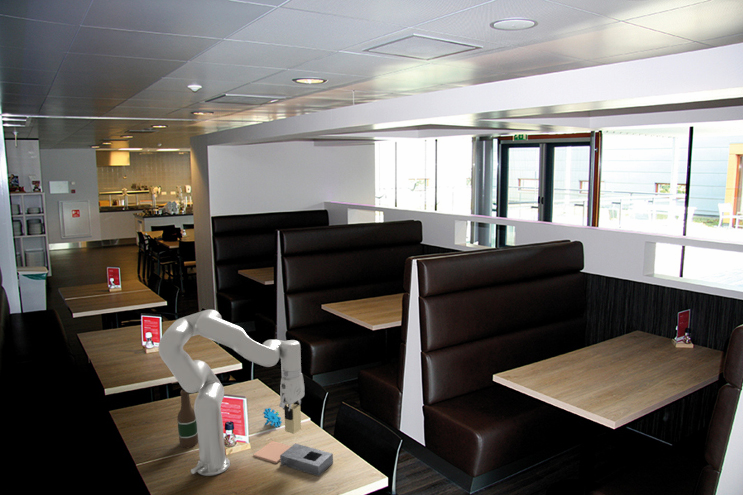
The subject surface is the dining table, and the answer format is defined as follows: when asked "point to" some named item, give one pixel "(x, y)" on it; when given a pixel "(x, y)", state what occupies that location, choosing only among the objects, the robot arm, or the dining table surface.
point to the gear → (272, 417)
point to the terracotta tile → (272, 451)
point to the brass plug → (294, 420)
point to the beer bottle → (187, 422)
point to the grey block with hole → (306, 459)
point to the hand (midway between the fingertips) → (292, 416)
